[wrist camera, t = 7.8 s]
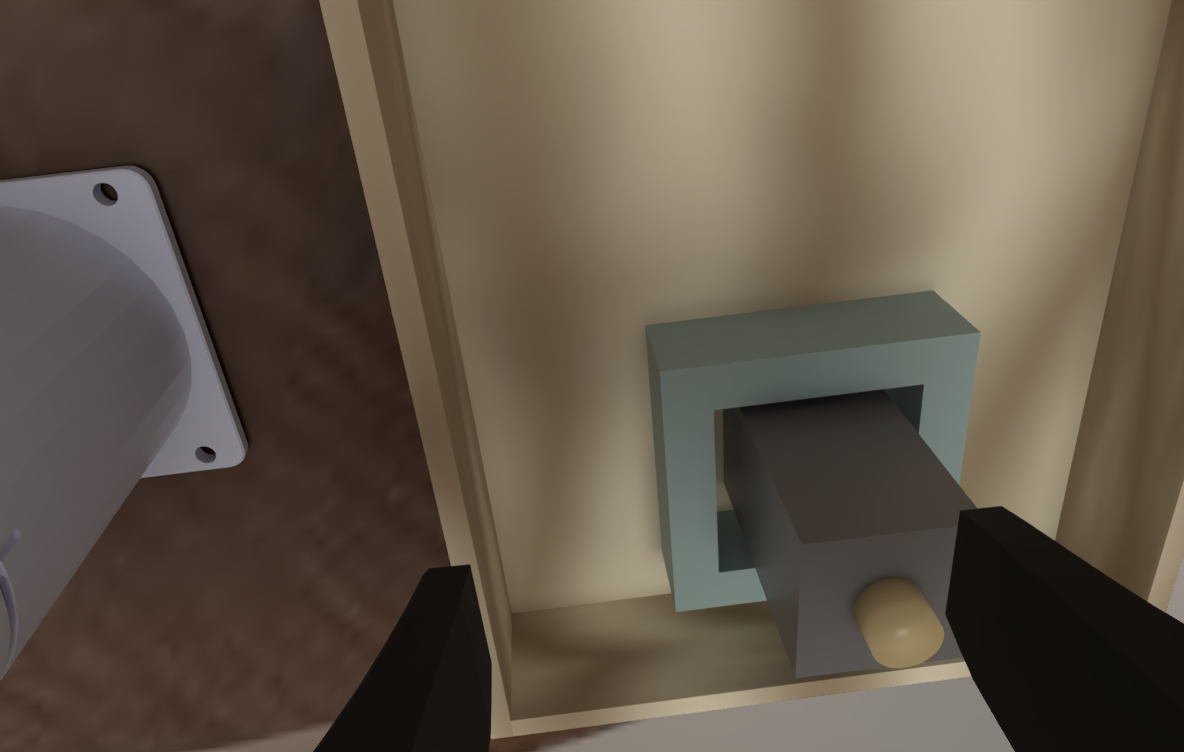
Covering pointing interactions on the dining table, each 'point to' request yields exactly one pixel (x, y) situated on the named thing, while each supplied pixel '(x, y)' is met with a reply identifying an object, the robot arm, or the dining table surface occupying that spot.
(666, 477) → the socket
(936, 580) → the plug
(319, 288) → the dining table surface
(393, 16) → the walled box
